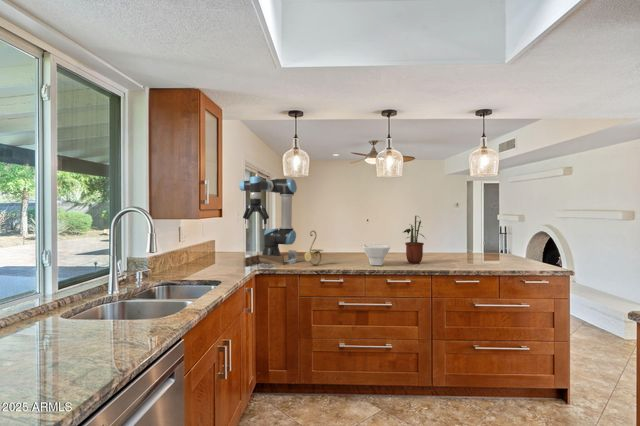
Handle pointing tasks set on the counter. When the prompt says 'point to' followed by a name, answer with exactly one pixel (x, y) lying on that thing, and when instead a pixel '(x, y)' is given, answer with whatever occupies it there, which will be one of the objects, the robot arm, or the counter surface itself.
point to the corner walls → (264, 260)
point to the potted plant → (414, 246)
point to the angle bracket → (291, 257)
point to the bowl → (376, 253)
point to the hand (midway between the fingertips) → (255, 228)
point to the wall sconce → (308, 254)
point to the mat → (266, 266)
